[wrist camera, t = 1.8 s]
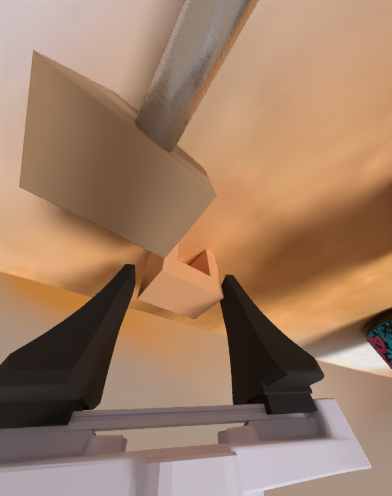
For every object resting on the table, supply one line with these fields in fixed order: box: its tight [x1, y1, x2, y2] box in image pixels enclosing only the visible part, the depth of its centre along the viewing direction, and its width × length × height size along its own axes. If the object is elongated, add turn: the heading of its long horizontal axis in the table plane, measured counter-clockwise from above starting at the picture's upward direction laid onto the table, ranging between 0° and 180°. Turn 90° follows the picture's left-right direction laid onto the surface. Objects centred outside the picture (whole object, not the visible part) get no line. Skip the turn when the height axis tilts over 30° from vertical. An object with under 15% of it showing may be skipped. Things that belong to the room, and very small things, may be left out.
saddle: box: [137, 242, 224, 319], centre depth 13 cm, size 5×4×5 cm
